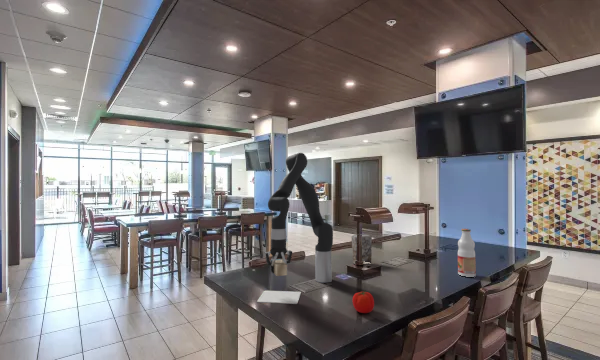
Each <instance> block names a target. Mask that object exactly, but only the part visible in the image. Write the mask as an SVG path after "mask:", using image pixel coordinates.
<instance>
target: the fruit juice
mask: <svg viewBox="0 0 600 360" xmlns="http://www.w3.org/2000/svg"><path fill="white" fill-rule="evenodd" d="M471 232H472V230H471V229H470V228H461V236H460V238H459V239H458V241H457V247H458V248H457V249H458V250H457V275H458V274H459V275H461V276H466V277H474V276H475V277H476V275H477V273H476V272H477V271H476V269H477V268H476V266H477V263H476V251H475V247H476V244H475V240H474V239H473V238H472V236H471ZM459 275H458V276H459ZM461 276H460V277H461ZM475 277H474V278H475Z"/></svg>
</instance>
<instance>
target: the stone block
mask: <svg viewBox="0 0 600 360" xmlns="http://www.w3.org/2000/svg"><path fill="white" fill-rule="evenodd" d="M357 235H358V234H356V235H355V234H354V235H352V236H351V249H352V250H351V251H352V253H351V256H352V257H351V258H352V264H353V263H355V261H356V260H357ZM361 235H362V261H365V262H370V263H371V264H372V248H373V247H372V243H373V242H372V239H373V238H372V236H371V235H369V234H361Z"/></svg>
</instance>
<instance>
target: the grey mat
mask: <svg viewBox="0 0 600 360" xmlns="http://www.w3.org/2000/svg"><path fill="white" fill-rule="evenodd" d="M301 295H302V292H301V291H287V290H286V291H285V290H283V291H282V290H264V291H263V292H262V294H261V295H260V296H259V298H258V299H257V301H256V303H265V304H267V303H268V304H285V305H286V304H288V305H289V304H291V305H292V304H293V305H297V304H298V302H299V300H300V297H301Z"/></svg>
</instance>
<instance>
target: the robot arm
mask: <svg viewBox="0 0 600 360" xmlns="http://www.w3.org/2000/svg"><path fill="white" fill-rule="evenodd" d="M285 164H286V168H287V170H288V173H287V175H285V176H284V178H283V179H282V181H280V183H279V186H278V189H277V190H276V191H274V193H273V194H272V195H271V196H270V197H269V199H268V202H267V207H268V209H269V210H270V211H271V212H279V213H278V215H275V216H273V217H271V231H270V250H269V251H265V252H264V257H265V262H266V264H267V265H269V266H270V272H271V274H274V263H275V261H276V259H281V260H282V261H283V262H284V263H286V264H287V265H288V264H291V260H292V256H293V251H292V250H290V249H289V250H288V249H287V229H286V228H287V227H286V226H287V223H286V222H287V216H288V213H289V209H290V206H291V205H290V200H289V199H288V198H290V196H291V195H292V192H293V189H294V187H296V189H297V191H298V194H299V197H300V199H301V202H302V204H303V206H304V209H305V211H306V213H307V215H308V218H309V221H310V225H311V228H312V232H313V234H314V235H315V236H316V237H317V244H315V249H314V250H315V251H314V252H315V253H314V254H315V257H314V258H315V260H314V261H315V266H314V267H315V270H314V271H315V272H314V273H315V274H314V275H315V277H314V278H315V282H317V283H323V284H324V283H326V284H327V283H332V279H333V278H332V277H333V276H332V275H333V273H332V272H333V271H332V270H333V269H332V267H333V266H332V247H333V241H334V230H333V227H332V224H330V223H328V222H326V221H324V218H323V217H322V214H321V211H320V200H319V196H318V193H317V192H316V189H315V187H314V186H313V185H312V184H311V183H310V182H308V181H307V180H306V179H305V177H303V175H302V173H303V172H304V171H305V169H306V168H307V166H308V157H307V156H306V154H305V153H303V152H298V153H294V154H291V155H289V156H286V159H285ZM286 254H287V257H285V256H286ZM270 256H272V257H271V259H270Z"/></svg>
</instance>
